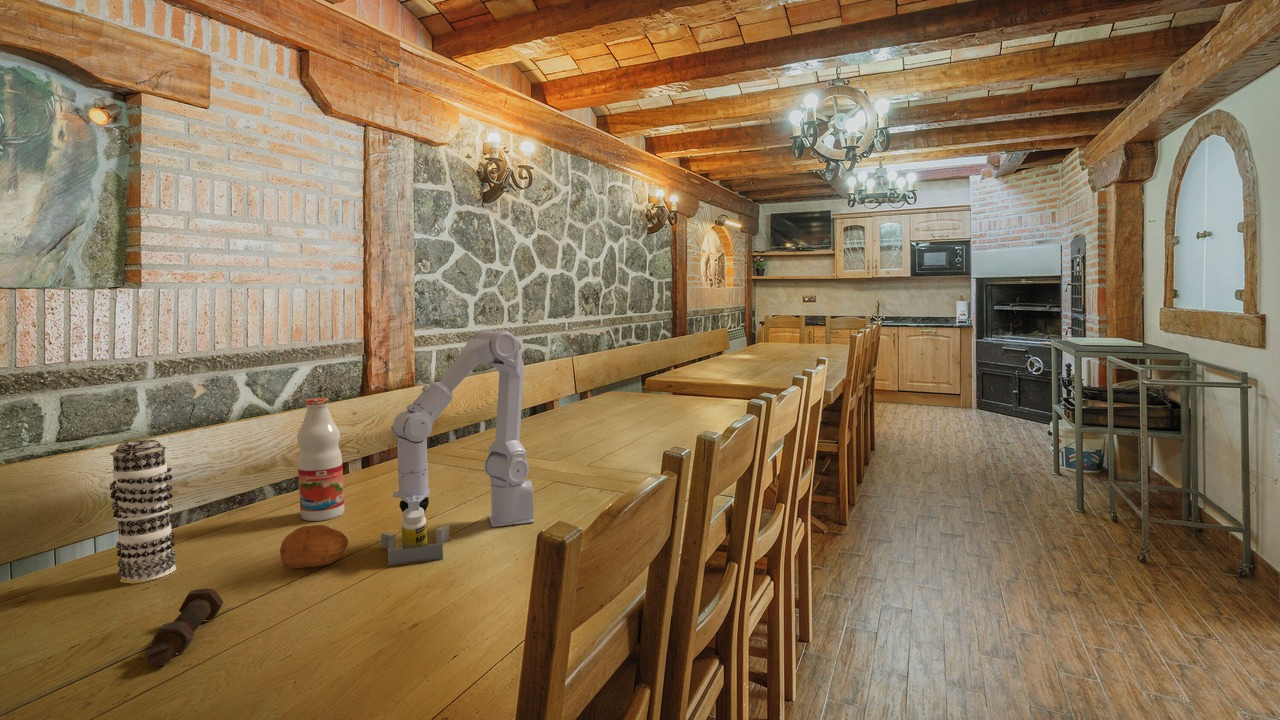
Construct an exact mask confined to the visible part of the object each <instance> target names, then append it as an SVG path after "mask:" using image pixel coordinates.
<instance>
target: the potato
mask: <svg viewBox="0 0 1280 720" xmlns="http://www.w3.org/2000/svg"><path fill="white" fill-rule="evenodd" d="M348 545H349V539H348V537H347V536H346V535H345V534H344V533H343V532H342V531H340V530H337V529H334V528H331V527H329V526H327V525H324V524H313V525H305V526H304V525H303V526H300V527H298V528H296V529H294V530H293V531H291V532H290V533H289V534H287V535H286V536H285V537H284V539H283V540H282V541H281V545H280V548H279V555H280V561H281V563H282V565H284V567H286V568H287V569H300V568H302V569H303V568H315V567H316V568H317V567H322V566H328V565H330V564H333V563H335V562H337V560H338V559H340V558H341V557H342V555H343V554H344V552H345V551H346V549H347V547H348Z"/></svg>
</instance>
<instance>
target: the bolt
mask: <svg viewBox="0 0 1280 720" xmlns="http://www.w3.org/2000/svg"><path fill="white" fill-rule="evenodd" d="M223 604H224V601H223V599H222V597H221V596H220V594H218V592H217V591H216V590H214V589H213V588H199V589H193V590H190V592H188V593H187V595H186V597H185V599H184V600H183V602H182V604H181V606H180V607H179V609H178V611H179V612H180V614H178V616H177V617H176V618H175V620H173V621H171V622H168V623H163V624H162V625H161V627H159V629H158V631H157V632H156V633H155V635H154V637H153V638H152V639H151V640H152V641H151V643H150V644H151V646H150V647H149V648H148V650H146V652H145V657H146V658H145V659H146V661H147V662H148V664H150V665H152V666H165V665H166V664H168V663H169V662H170V661H171V660H172V659H173V658H174V657H175V656H176V655H175V654H176V653H181V652H183V653H184V652H185V651H186V650H187V649H188V647H189V646H190V643H191V642H192V641H193V639H194V636H195V631H196V630H197V629H198V628H199V627H200V625H201V624H202V623H204V622H203V621H204V620H211V619H213V620H214V619H215V618H216V617H217V615H218V614H219V612H220V610H221V608H222V607H223ZM215 616H216V617H215ZM186 648H187V649H186ZM185 649H186V650H185ZM184 650H185V651H184Z"/></svg>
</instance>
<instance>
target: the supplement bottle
mask: <svg viewBox="0 0 1280 720" xmlns="http://www.w3.org/2000/svg"><path fill="white" fill-rule="evenodd" d="M425 515H426V514H424V509H423V508H421V507H419V510H417V511H408V508H407V509H406V510H404V512H402V518H403V519H402V521H401V539H402V541H401V542H402V544H401V545H402V547H410V546H418V545H426V544H428V529H427V528H428V526H427V518H426V516H425Z"/></svg>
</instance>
